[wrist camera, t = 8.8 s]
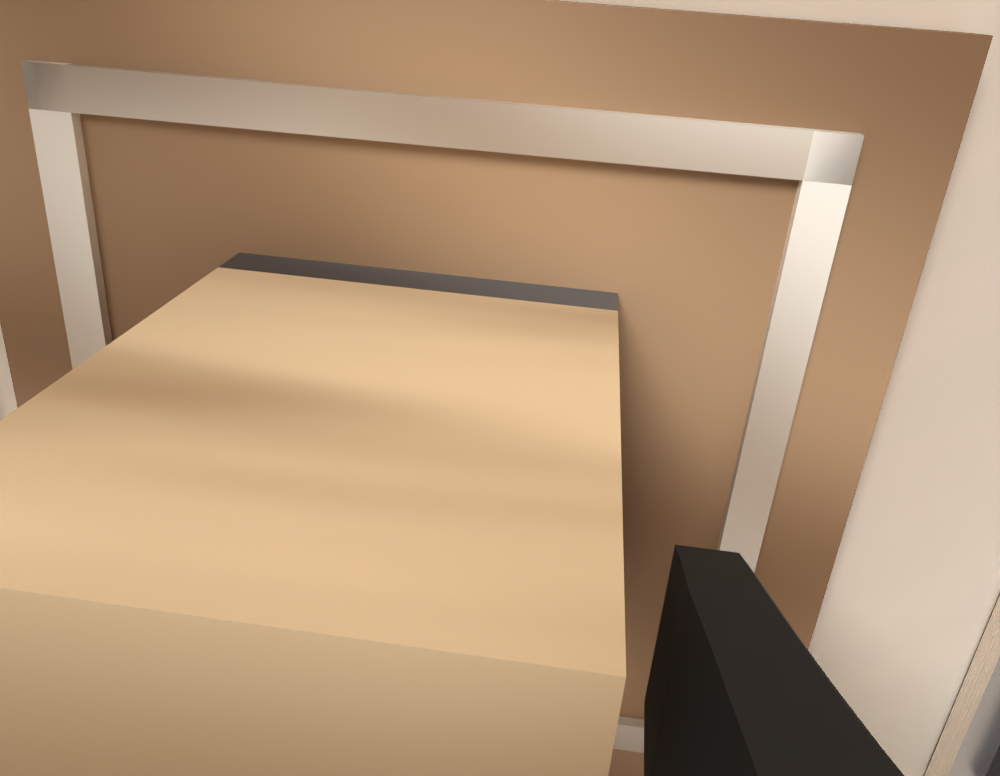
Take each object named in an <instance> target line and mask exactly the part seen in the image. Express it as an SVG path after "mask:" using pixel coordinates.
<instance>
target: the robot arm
mask: <svg viewBox="0 0 1000 776" xmlns="http://www.w3.org/2000/svg"><path fill="white" fill-rule="evenodd" d="M644 776H904V775H903V774H902V773H901V771H900V770H899V769H898V768H897V766H896V765H895V764H894V763H893V761H892V760H891V759H890V758H889V756H888V755H887V754H886V753H885V751H884V750H883V749H882V748H881V747H880V745H879V744H878V743H877V741H876V740H875V739H874V737H873V736H872V735H871V734H870V732H869V731H868V730H867V728H866V727H865V726H864V724H863V723H862V722H861V720H860V719H859V718H858V717H857V715H856V714H855V713H854V711H853V710H852V709H851V707H850V706H849V705H848V704H847V702H846V701H845V700H844V698H843V697H842V696H841V694H840V693H839V692H838V690H837V689H836V688H835V687H834V685H833V684H832V683H831V681H830V680H829V678H828V677H827V676H826V674H825V673H824V672H823V670H822V669H821V668H820V666H819V665H818V664H817V662H816V661H815V659H814V658H813V657H812V655H811V654H810V652H809V651H808V650H807V648H806V647H805V645H804V644H803V643H802V641H801V640H800V638H799V637H798V636H797V634H796V633H795V631H794V630H793V629H792V627H791V626H790V624H789V623H788V621H787V620H786V619H785V617H784V616H783V614H782V613H781V611H780V610H779V608H778V607H777V606H776V604H775V603H774V601H773V600H772V598H771V597H770V595H769V594H768V593H767V591H766V590H765V588H764V587H763V585H762V584H761V582H760V581H759V579H758V578H757V577H756V575H755V574H754V572H753V571H752V569H751V568H750V567H749V565H748V564H747V562H746V561H745V560H744V559H743V557H742V556H741V555H740V553H737V552H730V551H722V550H714V549H706V548H698V547H690V546H682V545H675V548H674V553H673V558H672V563H671V568H670V573H669V578H668V583H667V588H666V593H665V598H664V604H663V609H662V614H661V619H660V624H659V629H658V634H657V639H656V644H655V649H654V654H653V659H652V665H651V670H650V675H649V680H648V685H647V690H646V695H645V700H644Z"/></svg>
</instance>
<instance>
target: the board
mask: <svg viewBox="0 0 1000 776" xmlns="http://www.w3.org/2000/svg"><path fill="white" fill-rule="evenodd" d="M992 37H993V36H991V35H983V34H974V33H964V32H951V31H938V30H925V29H913V28H900V27H887V26H874V25H862V24H849V23H836V22H823V21H811V20H798V19H785V18H772V17H760V16H747V15H734V14H721V13H708V12H696V11H683V10H670V9H657V8H645V7H632V6H619V5H606V4H594V3H581V2H568V1H555V0H0V323H1V328H2V333H3V338H4V343H5V348H6V352H7V357H8V362H9V367H10V372H11V377H12V382H13V387H14V391H15V396H16V401H17V406H18V408H19V407H20V406H22V405H23V404H24V403H26V402H27V401H29V400H30V399H31V398H33V397H34V396H36V395H37V394H39V393H40V392H41V391H43V390H44V389H46V388H47V387H49V386H50V385H51V384H53V383H54V382H56V381H57V380H59V379H60V378H61V377H63V376H64V375H66V374H67V373H68V372H70V371H71V370H73V369H74V368H76V367H77V366H78V365H80V364H81V363H83V362H84V361H86V360H87V359H88V358H90V357H91V356H93V355H94V354H95V353H97V352H98V351H100V350H101V349H103V348H104V347H105V346H107V345H108V344H110V343H111V342H113V341H114V340H115V339H117V338H118V337H120V336H121V335H123V334H124V333H125V332H127V331H128V330H130V329H131V328H132V327H134V326H135V325H137V324H138V323H140V322H141V321H142V320H144V319H145V318H147V317H148V316H150V315H151V314H152V313H154V312H155V311H157V310H158V309H160V308H161V307H162V306H164V305H165V304H167V303H168V302H169V301H171V300H172V299H174V298H175V297H177V296H178V295H179V294H181V293H182V292H184V291H185V290H187V289H188V288H189V287H191V286H192V285H194V284H195V283H196V282H198V281H199V280H201V279H202V278H204V277H205V276H206V275H208V274H209V273H211V272H212V271H214V270H215V269H216V268H218V267H219V266H221V265H222V264H224V263H225V262H226V261H228V260H229V259H231V258H232V257H233V256H235V255H236V254H238V253H239V252H241V253H250V254H259V255H269V256H278V257H287V258H297V259H306V260H315V261H325V262H334V263H343V264H352V265H362V266H371V267H380V268H390V269H399V270H408V271H418V272H427V273H436V274H446V275H455V276H464V277H473V278H483V279H492V280H501V281H511V282H520V283H529V284H539V285H548V286H557V287H567V288H576V289H585V290H595V291H604V292H613V293H618V331H619V376H620V421H621V465H622V510H623V554H624V599H625V643H626V681H625V687H624V692H623V697H622V703H621V708H620V714H619V719H618V725H617V730H616V735H615V741H614V746H613V752H612V757H611V763H610V768H609V773H608V776H644V700H645V695H646V690H647V685H648V680H649V675H650V670H651V665H652V659H653V654H654V649H655V644H656V639H657V634H658V629H659V624H660V619H661V614H662V609H663V604H664V598H665V593H666V588H667V583H668V578H669V573H670V568H671V563H672V558H673V553H674V548H675V545H682V546H690V547H698V548H706V549H714V550H722V551H730V552H737V553H740V555H741V556H742V557H743V559H744V560H745V561H746V562H747V564H748V565H749V567H750V568H751V569H752V571H753V572H754V574H755V575H756V577H757V578H758V579H759V581H760V582H761V584H762V585H763V587H764V588H765V590H766V591H767V593H768V594H769V595H770V597H771V598H772V600H773V601H774V603H775V604H776V606H777V607H778V608H779V610H780V611H781V613H782V614H783V616H784V617H785V619H786V620H787V621H788V623H789V624H790V626H791V627H792V629H793V630H794V631H795V633H796V634H797V636H798V637H799V638H800V640H801V641H802V643H803V644H804V645H805V647H806V648H807V650H808V647H809V644H810V641H811V637H812V634H813V631H814V627H815V624H816V621H817V618H818V614H819V611H820V608H821V604H822V601H823V598H824V594H825V591H826V588H827V584H828V581H829V578H830V574H831V571H832V568H833V564H834V561H835V558H836V555H837V551H838V548H839V545H840V541H841V538H842V535H843V531H844V528H845V525H846V521H847V518H848V515H849V511H850V508H851V505H852V501H853V498H854V495H855V492H856V488H857V485H858V482H859V478H860V475H861V472H862V468H863V465H864V462H865V458H866V455H867V452H868V448H869V445H870V442H871V438H872V435H873V432H874V429H875V425H876V422H877V419H878V415H879V412H880V409H881V405H882V402H883V399H884V395H885V392H886V389H887V385H888V382H889V379H890V375H891V372H892V369H893V366H894V362H895V359H896V356H897V352H898V349H899V346H900V342H901V339H902V336H903V332H904V329H905V326H906V322H907V319H908V316H909V312H910V309H911V306H912V302H913V299H914V296H915V293H916V289H917V286H918V283H919V279H920V276H921V273H922V269H923V266H924V263H925V259H926V256H927V253H928V249H929V246H930V243H931V239H932V236H933V233H934V230H935V226H936V223H937V220H938V216H939V213H940V210H941V206H942V203H943V200H944V196H945V193H946V190H947V186H948V183H949V180H950V176H951V173H952V170H953V167H954V163H955V160H956V157H957V153H958V150H959V147H960V143H961V140H962V137H963V133H964V130H965V127H966V123H967V120H968V117H969V113H970V110H971V107H972V104H973V100H974V97H975V94H976V90H977V87H978V84H979V80H980V77H981V74H982V70H983V67H984V64H985V60H986V57H987V54H988V50H989V47H990V44H991V40H992Z"/></svg>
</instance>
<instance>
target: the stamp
mask: <svg viewBox="0 0 1000 776" xmlns="http://www.w3.org/2000/svg"><path fill="white" fill-rule="evenodd" d="M625 681H626V643H625V599H624V554H623V510H622V465H621V421H620V376H619V331H618V293H613V292H604V291H595V290H585V289H576V288H567V287H557V286H548V285H539V284H529V283H520V282H511V281H501V280H492V279H483V278H473V277H464V276H455V275H446V274H436V273H427V272H418V271H408V270H399V269H390V268H380V267H371V266H362V265H352V264H343V263H334V262H325V261H315V260H306V259H297V258H287V257H278V256H269V255H259V254H250V253H241V252H239V253H238V254H236V255H235V256H233V257H232V258H231V259H229V260H228V261H226V262H225V263H224V264H222V265H221V266H219V267H218V268H216V269H215V270H214V271H212V272H211V273H209V274H208V275H206V276H205V277H204V278H202V279H201V280H199V281H198V282H196V283H195V284H194V285H192V286H191V287H189V288H188V289H187V290H185V291H184V292H182V293H181V294H179V295H178V296H177V297H175V298H174V299H172V300H171V301H169V302H168V303H167V304H165V305H164V306H162V307H161V308H160V309H158V310H157V311H155V312H154V313H152V314H151V315H150V316H148V317H147V318H145V319H144V320H142V321H141V322H140V323H138V324H137V325H135V326H134V327H132V328H131V329H130V330H128V331H127V332H125V333H124V334H123V335H121V336H120V337H118V338H117V339H115V340H114V341H113V342H111V343H110V344H108V345H107V346H105V347H104V348H103V349H101V350H100V351H98V352H97V353H95V354H94V355H93V356H91V357H90V358H88V359H87V360H86V361H84V362H83V363H81V364H80V365H78V366H77V367H76V368H74V369H73V370H71V371H70V372H68V373H67V374H66V375H64V376H63V377H61V378H60V379H59V380H57V381H56V382H54V383H53V384H51V385H50V386H49V387H47V388H46V389H44V390H43V391H41V392H40V393H39V394H37V395H36V396H34V397H33V398H31V399H30V400H29V401H27V402H26V403H24V404H23V405H22V406H20V407H19V408H17V409H16V410H14V411H13V412H12V413H10V414H9V415H7V416H6V417H4V418H3V419H2V420H0V776H608V773H609V768H610V763H611V757H612V752H613V746H614V741H615V735H616V730H617V725H618V719H619V714H620V708H621V703H622V697H623V692H624V687H625Z"/></svg>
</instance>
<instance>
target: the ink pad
mask: <svg viewBox="0 0 1000 776" xmlns="http://www.w3.org/2000/svg"><path fill="white" fill-rule="evenodd" d="M924 776H1000V596H999V598H998V601H997V603H996V605H995V608H994V610H993V613H992V615H991V617H990V620H989V622H988V624H987V627H986V629H985V632H984V634H983V636H982V639H981V641H980V644H979V646H978V648H977V651H976V653H975V656H974V658H973V660H972V663H971V665H970V668H969V670H968V672H967V675H966V677H965V680H964V682H963V684H962V687H961V689H960V692H959V694H958V696H957V699H956V701H955V704H954V706H953V708H952V711H951V713H950V716H949V718H948V720H947V723H946V725H945V728H944V730H943V732H942V735H941V737H940V740H939V742H938V744H937V747H936V749H935V752H934V754H933V756H932V759H931V761H930V763H929V766H928V768H927V771H926V773H925V775H924Z"/></svg>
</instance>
